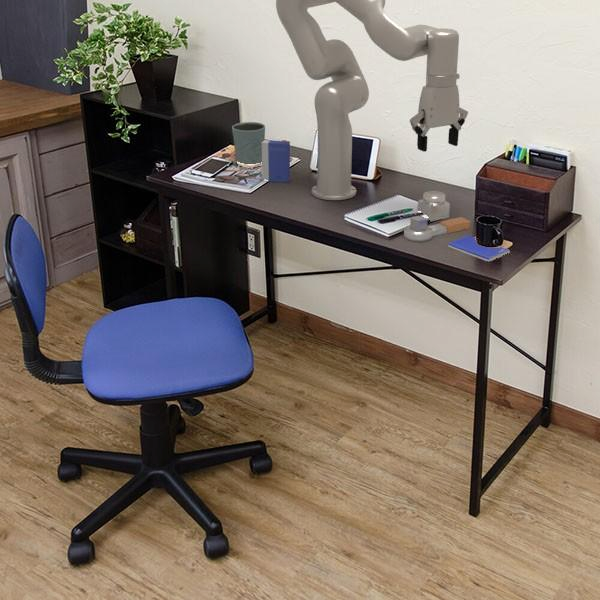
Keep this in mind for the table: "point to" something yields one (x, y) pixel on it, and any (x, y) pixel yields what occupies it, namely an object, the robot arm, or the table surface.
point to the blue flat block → (477, 249)
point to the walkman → (276, 160)
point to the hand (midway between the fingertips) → (437, 147)
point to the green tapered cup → (248, 142)
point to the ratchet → (432, 228)
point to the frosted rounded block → (434, 205)
